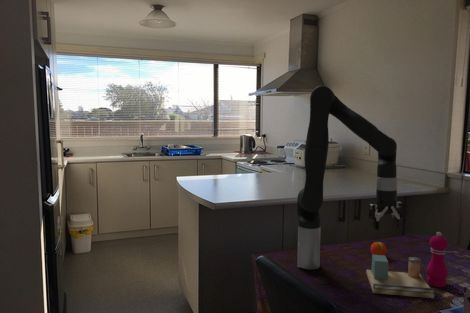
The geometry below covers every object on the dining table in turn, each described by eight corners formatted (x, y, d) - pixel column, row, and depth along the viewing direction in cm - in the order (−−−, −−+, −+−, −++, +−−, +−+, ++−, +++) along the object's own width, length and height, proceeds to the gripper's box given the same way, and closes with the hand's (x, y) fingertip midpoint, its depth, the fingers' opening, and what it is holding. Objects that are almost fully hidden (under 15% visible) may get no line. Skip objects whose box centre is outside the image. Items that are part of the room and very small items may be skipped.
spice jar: (409, 277, 145) (410, 260, 144) (406, 273, 149) (407, 256, 148) (421, 278, 144) (421, 261, 143) (418, 274, 148) (418, 257, 147)
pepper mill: (446, 289, 138) (449, 235, 136) (424, 284, 142) (427, 232, 140) (447, 282, 144) (450, 231, 143) (426, 278, 148) (429, 228, 146)
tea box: (374, 278, 143) (374, 261, 143) (371, 271, 150) (372, 254, 150) (388, 280, 142) (388, 262, 142) (384, 272, 149) (385, 255, 149)
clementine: (389, 260, 167) (390, 245, 167) (374, 260, 167) (374, 244, 167) (383, 254, 175) (383, 239, 174) (368, 254, 175) (368, 239, 175)
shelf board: (373, 293, 135) (373, 284, 135) (366, 273, 153) (366, 265, 152) (434, 298, 131) (434, 289, 131) (419, 277, 149) (420, 269, 148)
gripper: (396, 186, 153) (395, 225, 155) (364, 188, 150) (364, 228, 151) (408, 188, 146) (408, 230, 147) (376, 191, 143) (375, 233, 144)
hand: (386, 229), depth 149 cm, fingers open, 8 cm apart
